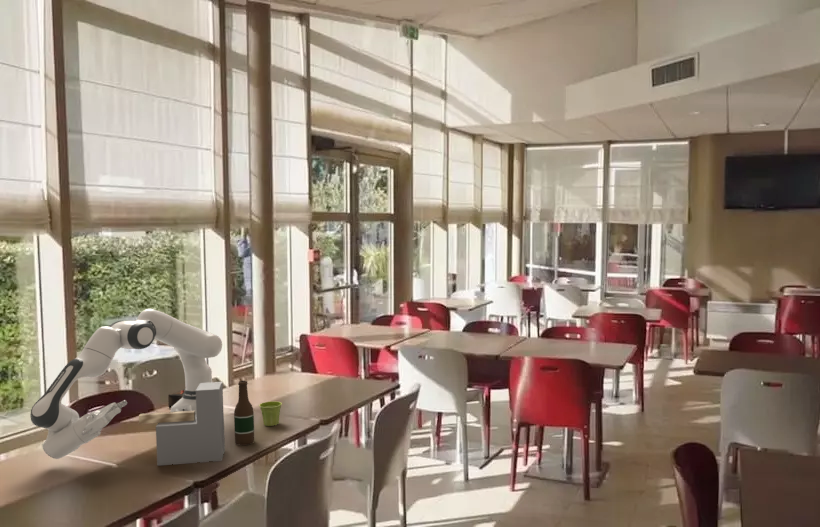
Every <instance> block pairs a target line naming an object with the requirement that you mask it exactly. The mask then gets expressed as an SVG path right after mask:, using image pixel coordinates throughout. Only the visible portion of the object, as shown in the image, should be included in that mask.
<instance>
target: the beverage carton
mask: <svg viewBox="0 0 820 527" xmlns="http://www.w3.org/2000/svg"><path fill="white" fill-rule="evenodd" d="M183 390H184V389H181V390H178V391H174V392H173V393H169V394H168V401H167V402H168V408H171V407H170V406H173V405H174V404H175V403H177V402H178V401H179V400H180V399H181V398H182V396H183V393H182V392H180V391H183ZM180 393H182V394H180Z"/></svg>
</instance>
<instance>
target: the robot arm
mask: <svg viewBox="0 0 820 527" xmlns="http://www.w3.org/2000/svg"><path fill="white" fill-rule="evenodd" d="M155 340H156V341H159V342H161V343H163V344H165V345H167V346H169V347H171V348H173V349H174V351H175V352H176V353H177V354H178V356H179V358H180V361H181V364H182V367H183V371H184V382H185V383H184V384H185V388H183V389H182V390H183V391H181V390H179V391H180V392H182V393H183V396H182V398H181V399H180V400H179V401H178V402H177V403H175V404H174V405H173V406H172V407H170V411H169V412H179V411H195V415H197V410H196V389H197V388H198V386H199V384H200V383H208V382H213V371H212V368H211V366H209V364H208V363H207V360H206V359H211V358H215V357H217V356H218V355H219V354H220V353H221V351H222V349H223V341H222V339H221V338H220V337H219V336H218V335H217V334H215V333H211V332H209V331H207V330H204V329H202V328H199V327H197V326H195V325H191V324H189V323H186V322H184V321H182V320H180V319H178V318H175V317H173V316H172V315H169V314H167V313H165V312H163V311H160V310H157V309H155V308H154V309H153V308H146V309H143V310H142V311H141V312H140V313H139V314H138V316H137V319H136V320H117V321H114V322H112V323H111V324H109V326H105V325H104V326H103V325H102V326H100V327H98V328H97V329H96V330H95V331H94V332H93V334H92V335H91V336H90V337H89V339H88V340H87V341H86V343H85V345H84V347H83V349H82V350H81V351H80V353H79V355H77V357H75V358H74V359H71V360H70V361H69V362H67V363H66V364H65V366H64V367H63V369H61V370H60V372H59V373H58V374H57V376H56V378H55V379H54V380H53V382H52V383H51V384H50V386H49V387H48V389H47V390H46V391H45V392H44V394H43V395H42V396H41V397H39V399H37V400H36V402H35V403H34V404H33V405H32V407H31V409H30V421H31V423H32V424H33V425H34V426H36V427H40V428H42V429H46V430H48V432H47V436H46V439H45V440H44V442H43V443H42V445H41V446H42V450H43V451H44V453H45V454H46V455H47V456H49V457H50V458H53V459H54V460H59V459H62V458H64V457H66V456H68V455H70V454H71V453H74V452H75V451H77V450H78V449H79V448H80V447H81V446H83V445H85V444H87V443H89V442H91V441H92V440H94V439H95V438H97V437H99V436H101V433H102V432H101V431H102V430H103V428H105V427H106V426H107V425H108V424H109V423H110V422H111V421H112V420H113V418H114V417H115V416H117V415H118V414H120V413H121V411H122V408H123V407H126V406H127V405H128V402H127V400H126V399H124V400H122V401H120V402H112V403H109V404H107V405H106V406H104V407H101V408H100V409H98V410H96V411H94V410H93V411H91V412H90V413H86V414H84V415H83V416H80V414H79V413H78V412H77V411H76V410H75V409H73V408H71V407H70V406H67V405H66V404H63V403H62V400H63V399H64V397H65V396H66V394H67V393H68V392H69V390H70V389H71V387H72V386H73V384H74V383H75V382H76V381H78V380H79V379H83V378H86V379H89V378H90V379H92V378H97V377H100V376H102V375H103V374H104V373H106V372H107V370H108V369H109V367H110V365H111V363H112V361H113V359H114V357H115V355H116V353H117V352H118V351H119V350H120V348H121V349H125V350H126V349H127V350H144V349H146V348H149V347H150V346H151V345H152V344H153V342H154V341H155ZM182 393H180V394H182Z"/></svg>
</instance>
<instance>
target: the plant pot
mask: <svg viewBox="0 0 820 527" xmlns="http://www.w3.org/2000/svg"><path fill="white" fill-rule="evenodd" d="M258 406H259V408H260V410H261V415H262V420H263V425H264V426H265V427H272V426H274V425H275V426H278V425H279V424H280V413H281V407H282V406H283V403H282V402H280V401H274V400H271V401H266V402H265V401H264V402H262V403H259V405H258ZM277 424H278V425H277Z"/></svg>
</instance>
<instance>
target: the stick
mask: <svg viewBox="0 0 820 527" xmlns="http://www.w3.org/2000/svg"><path fill="white" fill-rule="evenodd" d="M194 420H195V411H179V412H170V411H167V412H150V413H140V414H139V415H138V425H144V424H145V425H146V424H147V425H148V424H158V423H163V422H179V421H194Z"/></svg>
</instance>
